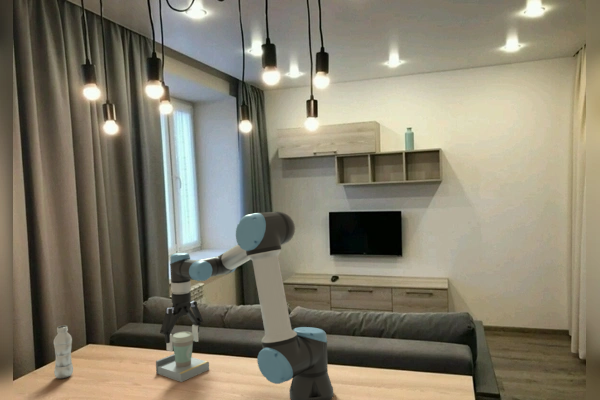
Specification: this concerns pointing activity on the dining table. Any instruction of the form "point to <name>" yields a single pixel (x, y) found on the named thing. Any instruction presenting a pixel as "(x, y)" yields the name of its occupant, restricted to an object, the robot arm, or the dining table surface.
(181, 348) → the coffee cup
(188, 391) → the dining table surface
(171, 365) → the plate
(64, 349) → the plastic bottle
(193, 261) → the robot arm
